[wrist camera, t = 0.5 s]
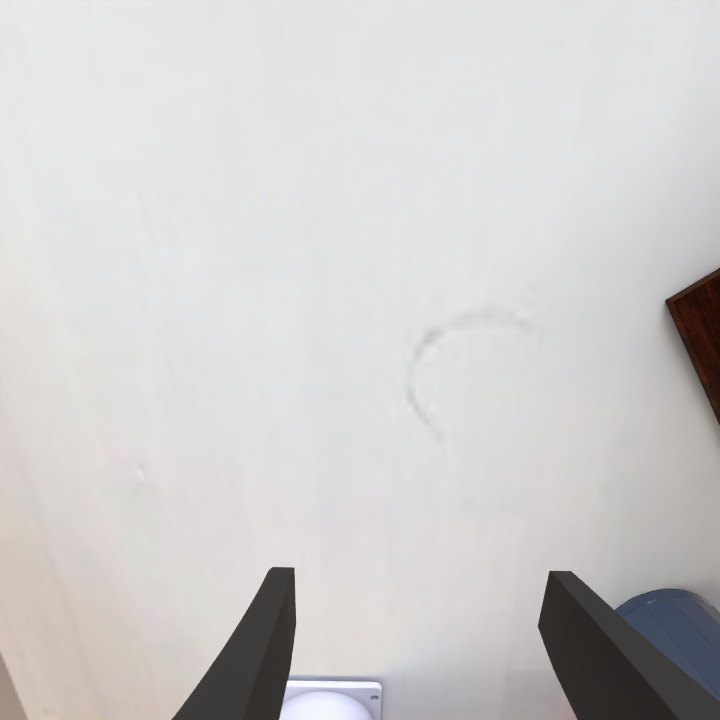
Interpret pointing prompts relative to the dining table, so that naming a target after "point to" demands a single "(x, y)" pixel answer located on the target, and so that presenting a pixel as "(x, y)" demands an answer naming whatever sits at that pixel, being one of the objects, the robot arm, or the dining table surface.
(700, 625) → the tumbler
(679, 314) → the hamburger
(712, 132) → the dining table surface
